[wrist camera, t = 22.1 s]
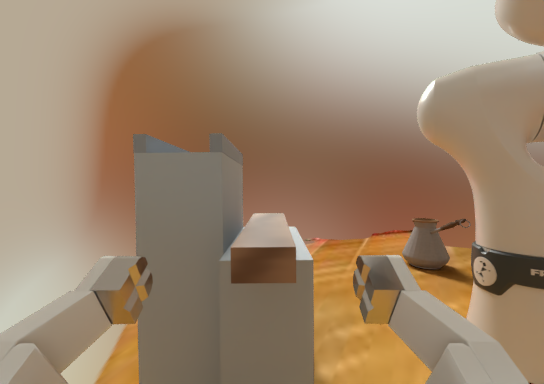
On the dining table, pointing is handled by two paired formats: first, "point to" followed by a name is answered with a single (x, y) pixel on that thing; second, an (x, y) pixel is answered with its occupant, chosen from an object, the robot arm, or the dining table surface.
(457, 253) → the dining table surface
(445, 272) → the dining table surface
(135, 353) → the dining table surface
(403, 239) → the dining table surface
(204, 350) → the step box
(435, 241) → the coffee pot
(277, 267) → the brown bar
